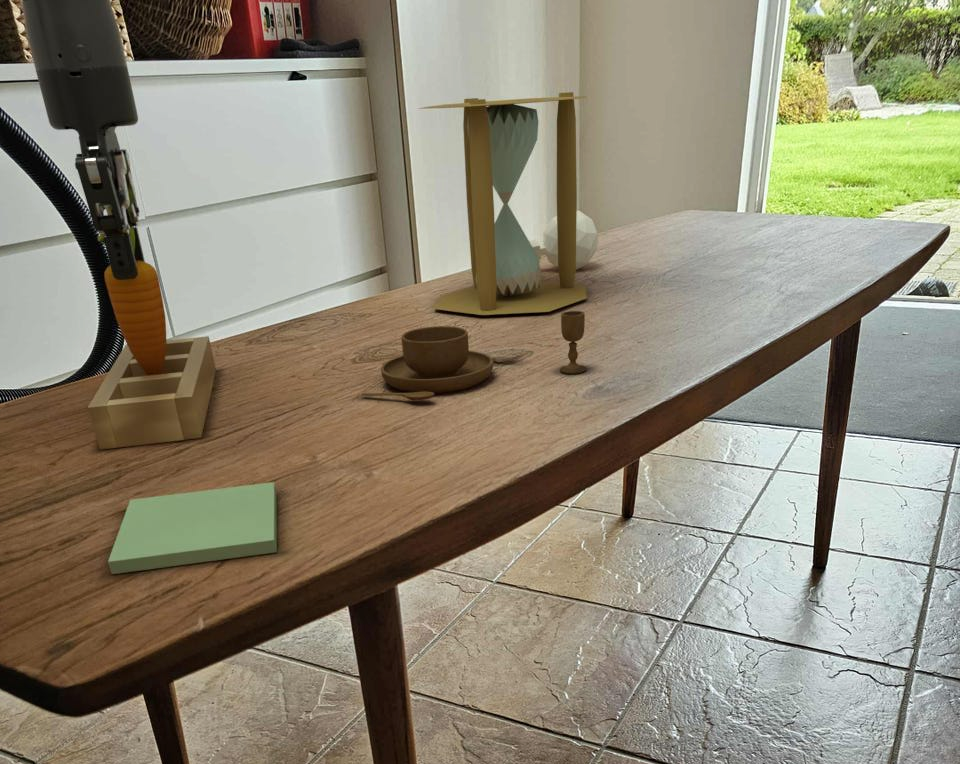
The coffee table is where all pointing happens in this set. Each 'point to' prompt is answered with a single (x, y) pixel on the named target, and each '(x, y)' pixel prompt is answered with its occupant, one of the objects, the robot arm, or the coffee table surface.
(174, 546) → the mat
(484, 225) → the hourglass
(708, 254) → the coffee table surface
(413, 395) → the place setting
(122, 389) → the rack
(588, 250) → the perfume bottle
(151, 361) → the carrot
